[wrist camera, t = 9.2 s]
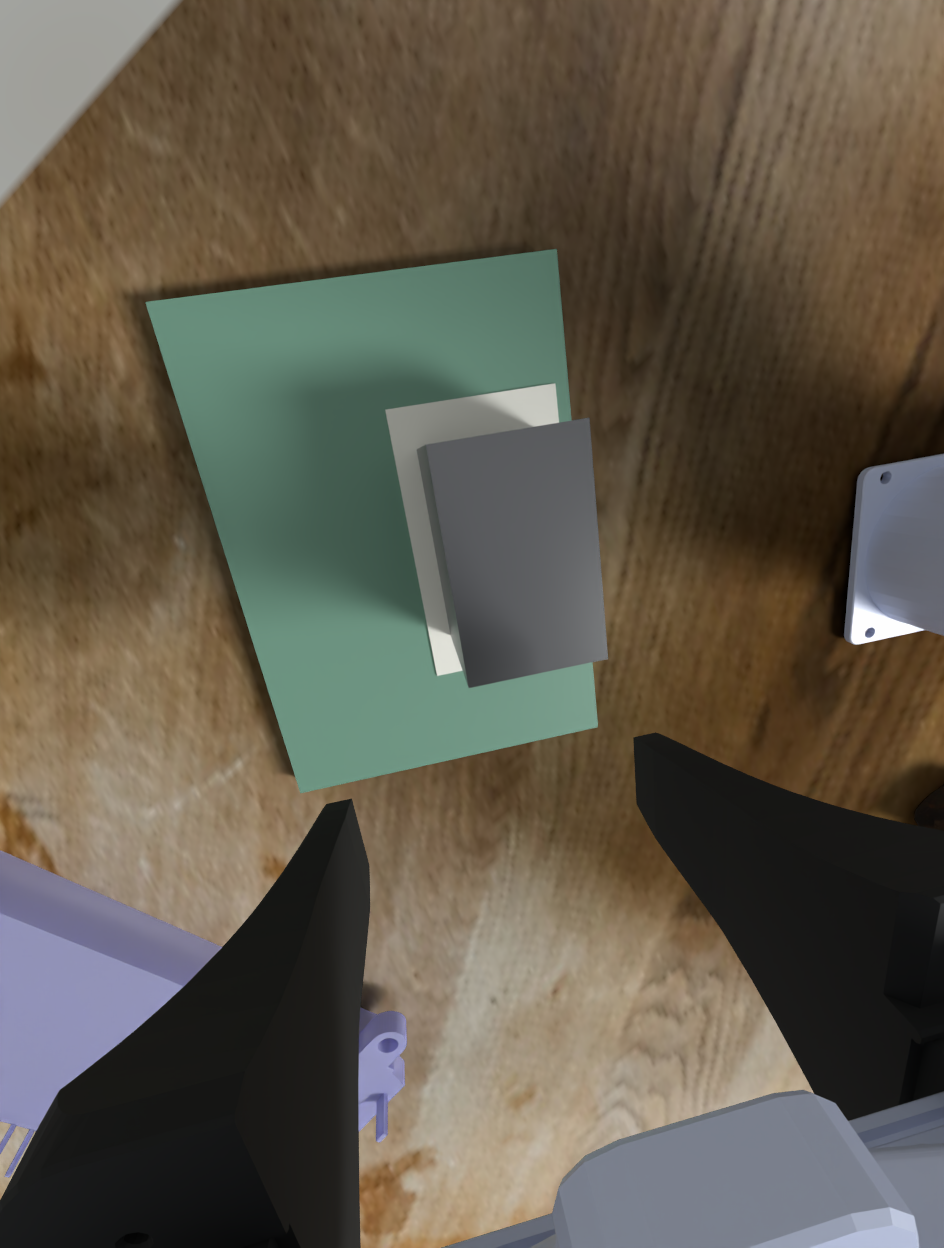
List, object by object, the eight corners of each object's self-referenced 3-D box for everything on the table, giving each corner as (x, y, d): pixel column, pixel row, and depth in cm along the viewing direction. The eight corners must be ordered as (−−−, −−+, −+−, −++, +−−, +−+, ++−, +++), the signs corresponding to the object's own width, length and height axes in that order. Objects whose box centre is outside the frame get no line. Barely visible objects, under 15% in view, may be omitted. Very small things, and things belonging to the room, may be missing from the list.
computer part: (279, 1165, 30) (440, 999, 28) (262, 1273, 26) (449, 1089, 24) (-359, 974, 21) (-188, 706, 19) (-537, 1096, 17) (-345, 773, 15)
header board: (547, 260, 18) (588, 208, 14) (589, 716, 23) (625, 762, 20) (159, 311, 16) (94, 269, 13) (304, 779, 22) (287, 839, 19)
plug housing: (538, 429, 18) (589, 417, 14) (557, 613, 20) (608, 658, 16) (416, 449, 18) (425, 444, 13) (450, 635, 20) (468, 688, 15)
